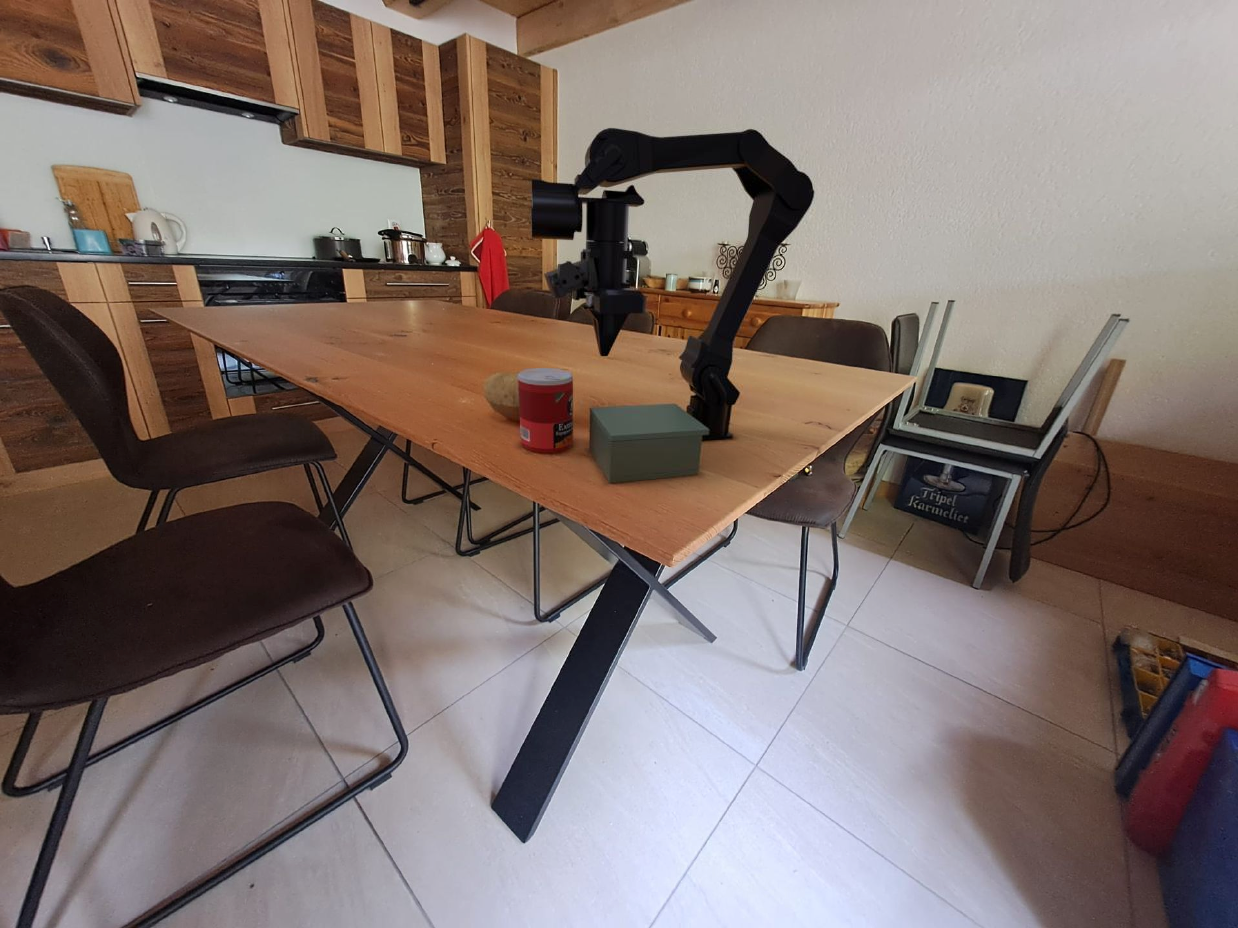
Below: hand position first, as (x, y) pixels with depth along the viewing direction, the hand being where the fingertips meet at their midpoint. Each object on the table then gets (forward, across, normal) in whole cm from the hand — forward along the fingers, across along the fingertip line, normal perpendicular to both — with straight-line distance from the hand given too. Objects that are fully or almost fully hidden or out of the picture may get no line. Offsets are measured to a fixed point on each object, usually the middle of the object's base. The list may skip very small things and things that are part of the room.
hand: (603, 355), depth 71 cm
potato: (+13, -10, -11) cm, 20 cm away
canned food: (+13, +2, -9) cm, 16 cm away
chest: (+13, +11, +3) cm, 17 cm away
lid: (+7, +11, +3) cm, 14 cm away
